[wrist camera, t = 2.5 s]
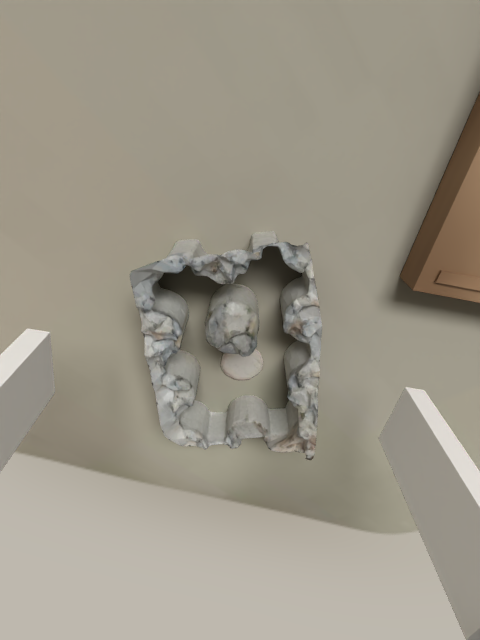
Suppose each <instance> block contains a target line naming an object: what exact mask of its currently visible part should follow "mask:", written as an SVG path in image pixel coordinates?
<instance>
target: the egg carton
mask: <svg viewBox="0 0 480 640" xmlns="http://www.w3.org/2000/svg"><path fill="white" fill-rule="evenodd" d="M266 246H277V247H278V248H279V250H280V253H281V255H282V258H283V260H284V262H285V263H286V264H287V265H288V266H289V267H290V268H292V269H294V270H295V271H297V272H299V273H302V272H303V273H302V277H299V278H297V279H294V280H292V281H291V282H290V283H288V284H287V285H286V287H285V288H284V289H283V290H282V294H281V298H280V304H281V311H282V318H283V329H284V333H287V334H288V333H289V334H291V335H292V336H293V337H294V338H296V339H297V341H295V342H293V343H292V344H291V345H290V346H289V347H288V349H287V350H286V352H285V354H284V365H285V372H286V380H287V387H288V389H289V391H288V395H287V398H288V399H289V401H288V403H287V405H286V407H285V408H277V409H269V408H268V407H267V405H266V403H265V402H264V401H263V400H262V399H261V398H259V397H257V396H253V395H244V396H240V397H238V398H235V399H234V400H232V402H231V403H230V404H229V407H228V411H227V412H211V411H209V409H208V408H207V406H205V405H204V404H203V403H202V402H200V401H197V400H195V397H196V392H197V386H198V380H199V374H200V369H201V367H200V364H199V362H198V360H197V359H196V357H195V356H193V355H192V354H191V353H188V352H187V351H183V350H180V346H181V341H182V338H183V334H184V331H185V327H186V324H187V321H188V318H189V309H188V305H187V303H186V301H185V300H184V299H183V298H182V297H181V296H180V295H179V294H177V293H175V292H173V291H170V290H166V289H162V288H160V287H159V283H158V280H159V279H161V278H162V276H163V274H164V273H177V274H178V273H179V272H181V271H182V270H183V269H184V268H185V267H186V265H188V266H190V267H191V269H192V271H193V273H194V274H195V275H197V276H208V277H210V278H211V279H212V280H214V281H215V282H217V283H220V284H226V285H224V286H222V287H220V288H219V289H218V290H217V291H216V292H215V293H214V294H213V296H212V298H211V301H210V306H209V309H208V314H207V318H206V321H205V326H206V339H207V342H208V343H209V344H210V345H212V346H214V347H216V348H217V349H218V350H219V351H221V352H223V353H224V354H223V355H222V359H221V368H222V370H223V371H224V373H225V374H226V375H227V376H229V377H231V378H233V379H236V380H248V379H251V378H253V377H254V376H256V375H258V373H259V372H260V371H261V369H262V367H263V359H262V356H261V353H260V352H259V351H258V350H257V349H255V348H256V347H257V333H258V330H259V313H258V301H257V298H256V296H255V294H254V293H253V291H252V290H251V289H250V288H248V287H247V286H244V285H242V284H237V283H234V281H235V279H236V277H237V275H239V274H244V273H245V272H246V271H247V269H248V266H249V264H250V261H251V260H259V259H261V258H262V251H263V248H265V247H266ZM130 280H131V285H132V289H133V293H134V298H135V302H136V307H137V308H138V310H139V313H140V317H141V323H142V328H141V332H142V333H144V338H145V358H146V361H147V363H148V366H149V369H150V373H151V379H152V385H153V388H154V391H155V394H156V402H157V408H158V414H159V420H160V426H161V429H162V431H163V433H164V436H165V437H167V438H168V439H169V440H171V441H173V442H175V443H177V444H179V445H180V446H197V447H201V448H204V449H207V448H208V447H209V446H210V445H215V444H225V445H229V446H230V448H232V449H233V448H238V447H239V446H240V444H241V439H243V438H257V437H264V438H265V439H264V441H265V442H266V444H267V446H268V448H269V449H270V450H272V451H277V452H292V451H296V452H302V453H305V454H306V459H308V460H312V459H313V457H314V455H315V446H316V431H317V419H318V400H317V396H318V384H319V375H320V363H319V361H320V350H321V334H322V323H321V316H320V309H319V302H318V296H317V290H316V285H315V279H314V273H313V266H312V259H311V257H310V252H309V246H308V243H305V244H304V245H301V246H295V245H291V244H290V243H288V242H279V241H278V239H277V237H276V234H275V233H274V231H271V232H260V233H254V234H252V237H251V242H250V246H249V248H248V250H247V251H245V250H232V251H228V252H226V253H224V254H222V255H215V254H209V255H208V254H207V253H206V252H205V250H204V249H203V247H202V245H201V243H200V242H199V240H197V239H190V240H180V241H177V242H176V243H175V245H174V247H173V249H172V250H171V252H170V253H169V255H168V256H167V258H165V259H163V260H161V261H157V262H154V263H151V264H148V265H146V266H143V267H141V268H138V269H135V270H133V271H131V273H130Z"/></svg>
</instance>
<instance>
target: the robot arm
mask: <svg viewBox="0 0 480 640" xmlns="http://www.w3.org/2000/svg"><path fill="white" fill-rule="evenodd" d="M54 393H55V384H54V372H53V360H52V348H51V336H50V332H46V331H40V330H33V329H26V330H25V331H24V332H23V333H22V334H21V335H20V336H19V337H18V338H17V339H16V340H15V341H14V342H13V343H12V344H11V345H10V346H9V347H8V348H7V349H6V350H5V351H4V352H3V353H2V354H1V355H0V472H1V471H2V469H3V468H4V466H5V465H6V463H7V462H8V460H9V459H10V458H11V456H12V455H13V453H14V452H15V450H16V449H17V447H18V446H19V444H20V443H21V441H22V440H23V439H24V437H25V436H26V434H27V433H28V431H29V430H30V428H31V427H32V425H33V424H34V423H35V421H36V420H37V418H38V417H39V415H40V414H41V412H42V411H43V409H44V408H45V406H46V405H47V404H48V402H49V401H50V399H51V398H52V396H53V395H54ZM379 440H380V443H381V445H382V447H383V450H384V452H385V454H386V457H387V459H388V461H389V463H390V466H391V468H392V470H393V473H394V475H395V477H396V480H397V482H398V484H399V486H400V489H401V491H402V493H403V496H404V498H405V500H406V503H407V505H408V507H409V509H410V512H411V514H412V516H413V519H414V521H415V523H416V526H417V528H418V530H419V533H420V535H421V537H422V539H423V542H424V544H425V546H426V548H427V551H428V553H429V556H430V558H431V560H432V562H433V565H434V567H435V569H436V572H437V574H438V576H439V578H440V581H441V583H442V585H443V588H444V590H445V592H446V595H447V597H448V599H449V602H450V604H451V606H452V609H453V611H454V613H455V615H456V618H457V620H458V622H459V625H460V627H461V629H462V632H463V634H464V636H465V638H466V640H480V471H479V470H478V468H477V467H476V465H475V464H474V463H473V461H472V460H471V458H470V457H469V455H468V454H467V452H466V451H465V449H464V448H463V446H462V445H461V443H460V442H459V441H458V439H457V438H456V436H455V435H454V433H453V432H452V430H451V429H450V427H449V426H448V424H447V423H446V421H445V420H444V419H443V417H442V416H441V414H440V413H439V411H438V410H437V408H436V407H435V405H434V404H433V402H432V401H431V399H430V398H429V397H428V395H427V394H426V392H425V391H424V390H420V389H414V388H407V387H405V389H404V391H403V392H402V394H401V396H400V398H399V400H398V402H397V404H396V406H395V408H394V409H393V411H392V413H391V415H390V417H389V419H388V421H387V423H386V425H385V426H384V428H383V430H382V432H381V434H380V436H379Z"/></svg>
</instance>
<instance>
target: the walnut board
mask: <svg viewBox="0 0 480 640" xmlns="http://www.w3.org/2000/svg"><path fill="white" fill-rule="evenodd" d="M400 278H401V279H402V280H403V281H404V282H405V283H406V284H407V285H408V286H409V287H410V288H411V289H412V290H414V291H420V292H425V293H430V294H436V295H441V296H446V297H452V298H457V299H462V300H468V301H473V302H478V303H480V93H479V95H478V97H477V100H476V102H475V104H474V107H473V109H472V111H471V114H470V116H469V118H468V120H467V123H466V125H465V127H464V130H463V132H462V134H461V137H460V139H459V141H458V143H457V146H456V148H455V150H454V153H453V155H452V157H451V160H450V162H449V164H448V166H447V169H446V171H445V173H444V176H443V178H442V180H441V183H440V185H439V187H438V189H437V192H436V194H435V196H434V199H433V201H432V203H431V205H430V208H429V210H428V212H427V215H426V217H425V219H424V222H423V224H422V226H421V228H420V231H419V233H418V235H417V238H416V240H415V242H414V245H413V247H412V249H411V251H410V254H409V256H408V258H407V261H406V263H405V265H404V268H403V270H402V272H401V274H400Z"/></svg>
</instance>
